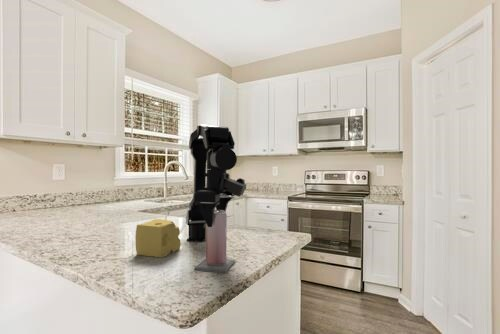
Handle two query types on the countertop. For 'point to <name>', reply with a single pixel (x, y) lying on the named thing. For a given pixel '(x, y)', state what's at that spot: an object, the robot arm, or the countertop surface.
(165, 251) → the cheese
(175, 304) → the countertop surface
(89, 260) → the countertop surface
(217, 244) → the beverage can
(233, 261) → the slate coaster
